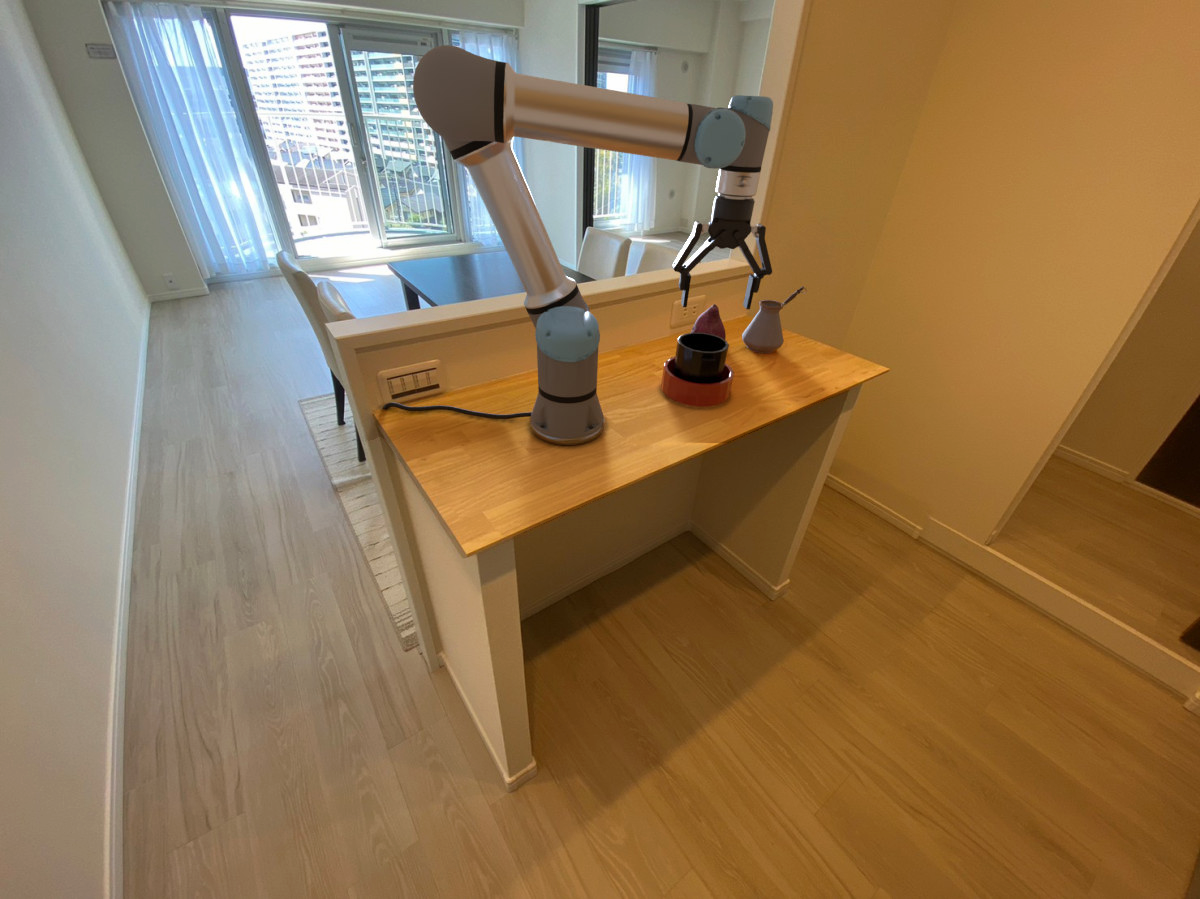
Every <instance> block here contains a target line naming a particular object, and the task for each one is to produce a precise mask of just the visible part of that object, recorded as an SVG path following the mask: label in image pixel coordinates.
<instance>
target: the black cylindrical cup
mask: <svg viewBox="0 0 1200 899" xmlns="http://www.w3.org/2000/svg"><path fill="white" fill-rule="evenodd" d="M729 347H730V344H729V343H728V341H727V340H726V339H725V340H724V339H723V338H721V337H718V336H716V335H712V334H707V333H691V332H687V333H684V334H681V335H680V336H679V337H678V338H677V341H676V349H675V355H674V356H675V363H674V370H673V375H674V376H676V377H678V378H680V379H682V380H685V381H688V382H693V383H699V384H712V383H719V382H721V381H722V376H723V371H724V367H725V363H726V362H727V357H728V351H729Z"/></svg>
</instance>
